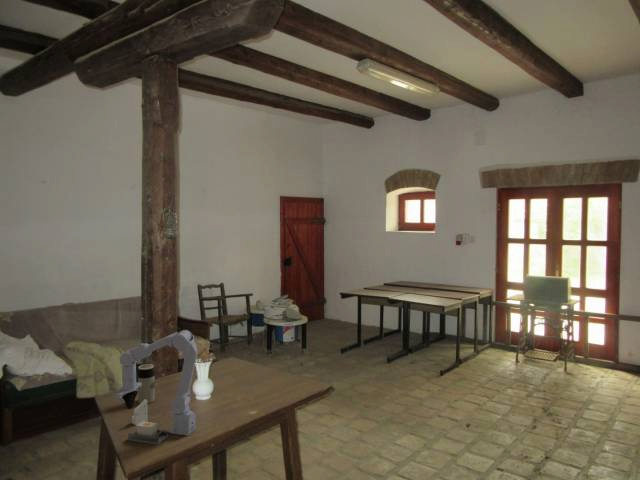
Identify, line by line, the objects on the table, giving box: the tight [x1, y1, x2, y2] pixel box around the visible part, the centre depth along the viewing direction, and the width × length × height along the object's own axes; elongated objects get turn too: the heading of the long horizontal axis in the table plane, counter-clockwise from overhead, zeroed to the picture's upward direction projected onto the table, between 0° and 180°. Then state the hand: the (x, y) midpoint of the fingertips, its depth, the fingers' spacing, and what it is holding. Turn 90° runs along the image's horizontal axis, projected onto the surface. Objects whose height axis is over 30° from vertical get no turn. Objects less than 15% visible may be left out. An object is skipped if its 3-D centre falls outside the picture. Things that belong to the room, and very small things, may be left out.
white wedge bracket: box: [131, 399, 149, 426], centre depth 219 cm, size 4×10×9 cm
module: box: [136, 421, 158, 437], centre depth 203 cm, size 7×4×5 cm, turn 74°
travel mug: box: [137, 363, 156, 405], centre depth 243 cm, size 8×8×18 cm
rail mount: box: [126, 428, 169, 446], centre depth 203 cm, size 15×7×3 cm, turn 74°
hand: (129, 408), depth 210 cm, fingers closed
